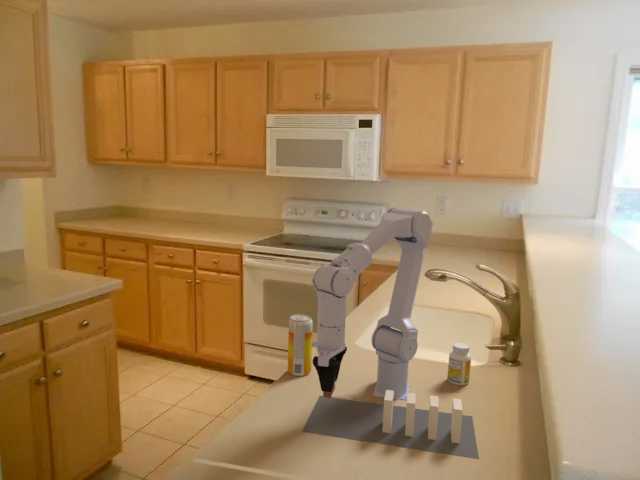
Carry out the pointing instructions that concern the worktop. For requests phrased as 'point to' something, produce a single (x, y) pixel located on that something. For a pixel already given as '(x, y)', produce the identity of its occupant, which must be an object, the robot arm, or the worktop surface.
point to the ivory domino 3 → (433, 417)
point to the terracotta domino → (329, 394)
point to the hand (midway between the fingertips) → (329, 385)
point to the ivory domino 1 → (388, 411)
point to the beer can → (300, 345)
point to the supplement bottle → (459, 364)
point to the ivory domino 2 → (410, 414)
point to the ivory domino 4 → (456, 421)
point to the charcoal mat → (368, 424)
